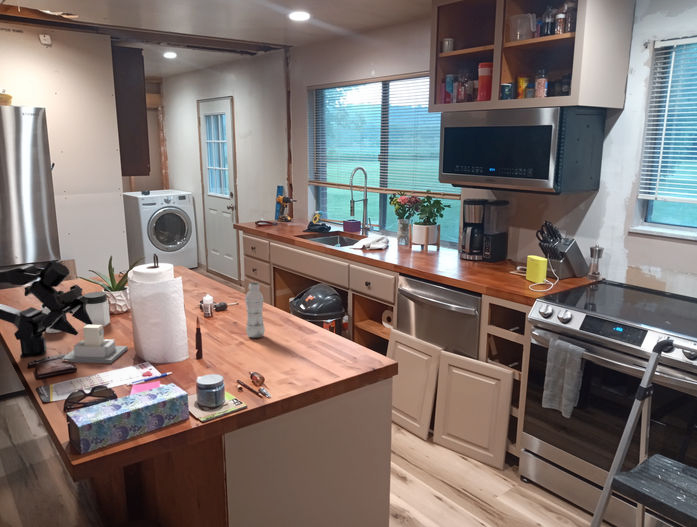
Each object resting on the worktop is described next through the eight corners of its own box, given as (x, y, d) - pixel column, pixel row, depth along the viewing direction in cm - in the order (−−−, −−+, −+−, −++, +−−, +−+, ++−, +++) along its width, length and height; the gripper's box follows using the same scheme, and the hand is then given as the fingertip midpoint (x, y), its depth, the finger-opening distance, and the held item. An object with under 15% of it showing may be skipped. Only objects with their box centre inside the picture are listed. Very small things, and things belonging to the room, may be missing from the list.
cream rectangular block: (85, 353, 181) (82, 327, 179) (90, 350, 184) (87, 324, 182) (101, 354, 181) (99, 328, 179) (106, 350, 184) (104, 325, 182)
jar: (80, 325, 211) (77, 295, 209) (99, 319, 218) (96, 290, 216) (95, 329, 207) (92, 298, 204) (114, 323, 214) (111, 293, 211)
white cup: (38, 331, 204) (35, 305, 202) (58, 325, 211) (55, 300, 209) (52, 335, 201) (49, 308, 199) (72, 328, 208) (69, 303, 205)
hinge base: (62, 361, 177) (60, 349, 176) (81, 348, 189) (80, 336, 188) (110, 363, 177) (109, 351, 176) (127, 349, 188) (126, 337, 187)
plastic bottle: (261, 340, 198) (260, 286, 194) (243, 339, 199) (241, 285, 195) (267, 334, 204) (266, 282, 200) (250, 333, 206) (248, 280, 201)
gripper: (47, 287, 168) (85, 323, 170) (79, 272, 187) (113, 305, 189) (24, 310, 171) (62, 346, 172) (58, 294, 189) (93, 326, 191)
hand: (84, 329), depth 181 cm, fingers open, 9 cm apart
